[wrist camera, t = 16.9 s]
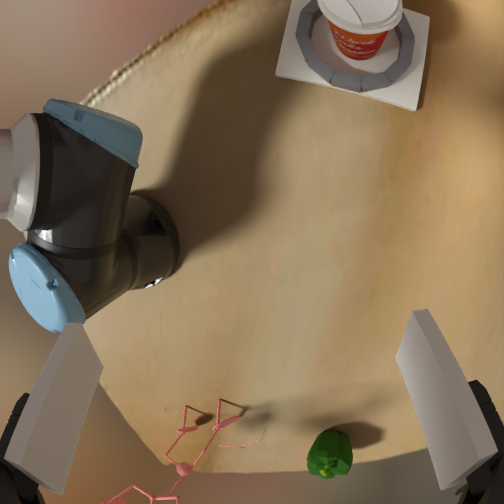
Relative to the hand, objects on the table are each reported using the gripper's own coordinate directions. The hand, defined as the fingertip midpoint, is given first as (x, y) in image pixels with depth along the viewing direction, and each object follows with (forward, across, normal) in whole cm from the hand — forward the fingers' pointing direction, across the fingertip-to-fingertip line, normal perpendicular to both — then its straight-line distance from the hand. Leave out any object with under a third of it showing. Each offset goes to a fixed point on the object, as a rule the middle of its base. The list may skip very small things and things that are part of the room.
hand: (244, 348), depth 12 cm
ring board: (+34, +14, +14) cm, 39 cm away
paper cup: (+32, +14, +14) cm, 38 cm away
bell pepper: (+19, +14, -49) cm, 54 cm away
